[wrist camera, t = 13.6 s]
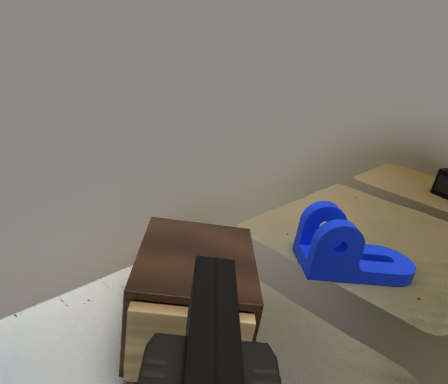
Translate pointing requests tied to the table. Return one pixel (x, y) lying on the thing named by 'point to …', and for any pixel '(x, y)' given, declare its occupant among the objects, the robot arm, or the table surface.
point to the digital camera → (441, 183)
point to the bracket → (345, 251)
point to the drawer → (161, 329)
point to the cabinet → (189, 266)
